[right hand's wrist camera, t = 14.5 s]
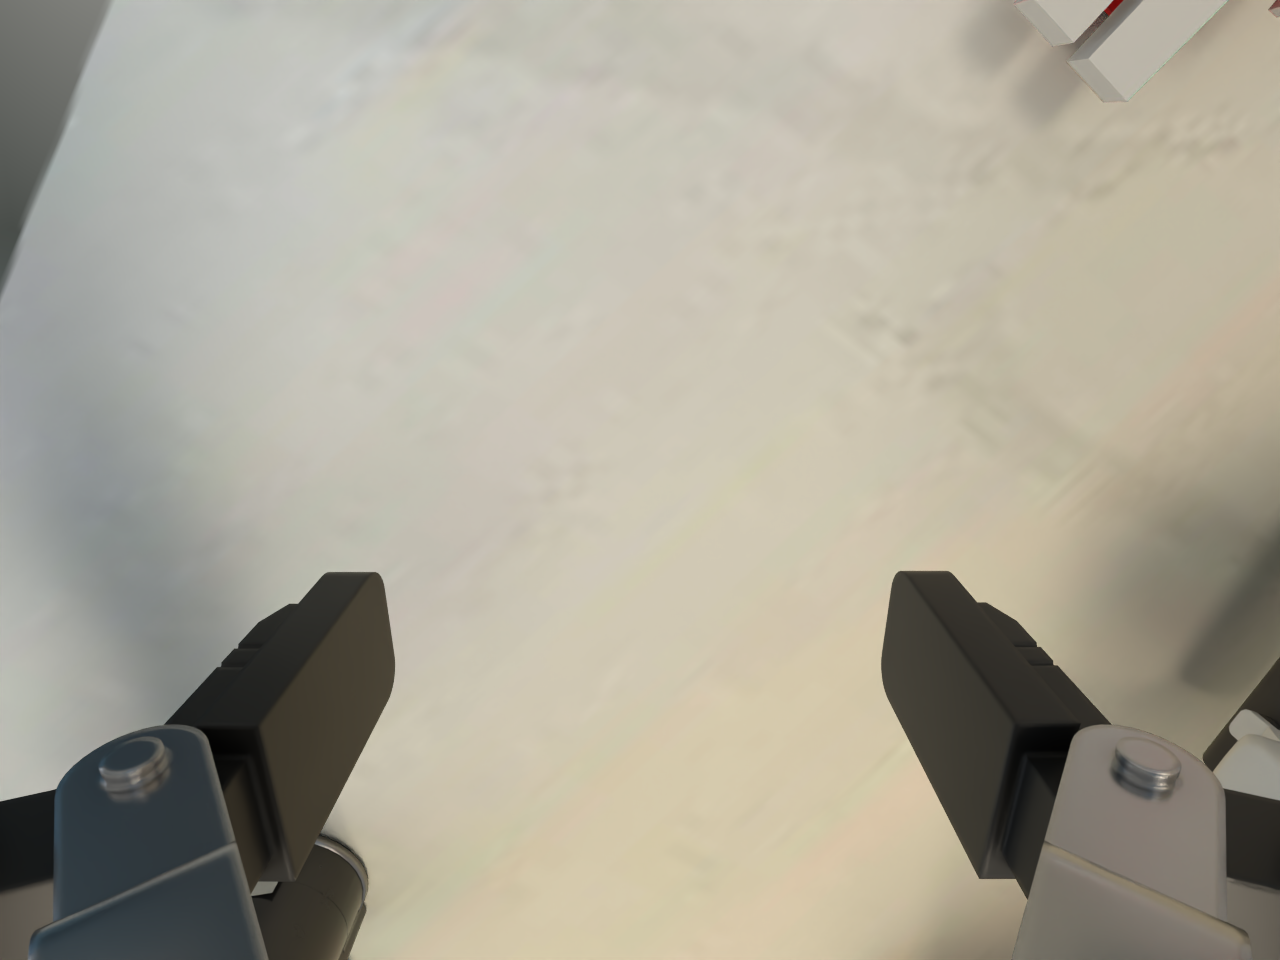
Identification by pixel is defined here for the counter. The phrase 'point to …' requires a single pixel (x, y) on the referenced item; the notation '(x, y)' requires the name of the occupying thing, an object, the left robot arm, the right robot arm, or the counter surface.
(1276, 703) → the rod
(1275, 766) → the left robot arm
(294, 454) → the counter surface
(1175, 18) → the toy
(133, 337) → the counter surface
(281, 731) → the right robot arm
